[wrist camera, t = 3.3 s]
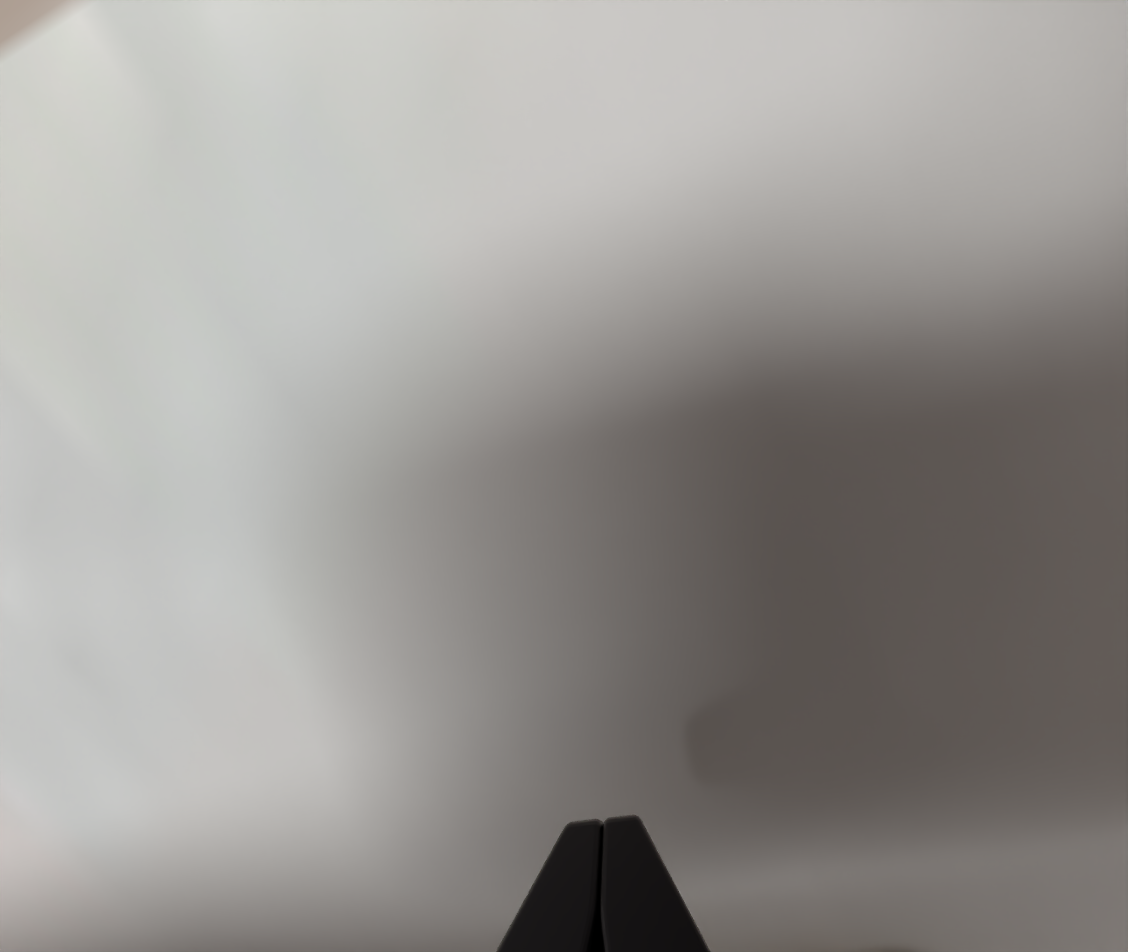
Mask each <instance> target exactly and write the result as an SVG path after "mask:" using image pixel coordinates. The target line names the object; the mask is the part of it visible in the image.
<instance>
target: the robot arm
mask: <svg viewBox="0 0 1128 952" xmlns="http://www.w3.org/2000/svg"><path fill="white" fill-rule="evenodd" d="M496 952H710V950H709V948H708V947H707V945H706V943H705V941H704V939H703V937H702V935H701V933H700V931H699V929H698V927H697V926H696V924H695V922H694V920H693V918H692V916H691V914H690V912H689V910H688V908H687V906H686V905H685V903H684V901H683V899H682V897H681V895H680V893H679V891H678V889H677V887H676V885H675V884H674V882H673V880H672V878H671V876H670V874H669V872H668V870H667V868H666V866H665V864H664V863H663V861H662V859H661V857H660V855H659V853H658V851H657V849H656V847H655V845H654V843H653V842H652V840H651V838H650V836H649V834H648V832H647V830H646V828H645V826H644V824H643V822H642V821H641V819H640V818H639V817H638V816H636V815H628V816H619V817H610V818H607V819H606V820H605V821H604V824H603V823H602V821H600V820H598V819H592V820H583V821H575V822H570V823H568V824H567V825H566V826H565V827H564V829H563V831H562V833H561V834H560V836H559V838H558V840H557V842H556V844H555V845H554V847H553V849H552V851H551V853H550V855H549V856H548V858H547V860H546V862H545V864H544V865H543V867H542V869H541V871H540V873H539V875H538V876H537V878H536V880H535V882H534V884H533V885H532V887H531V889H530V891H529V893H528V895H527V896H526V898H525V900H524V902H523V904H522V905H521V907H520V909H519V911H518V913H517V915H516V916H515V918H514V920H513V922H512V924H511V925H510V927H509V929H508V931H507V933H506V935H505V936H504V938H503V940H502V942H501V944H500V945H499V947H498V949H497V951H496Z"/></svg>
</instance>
